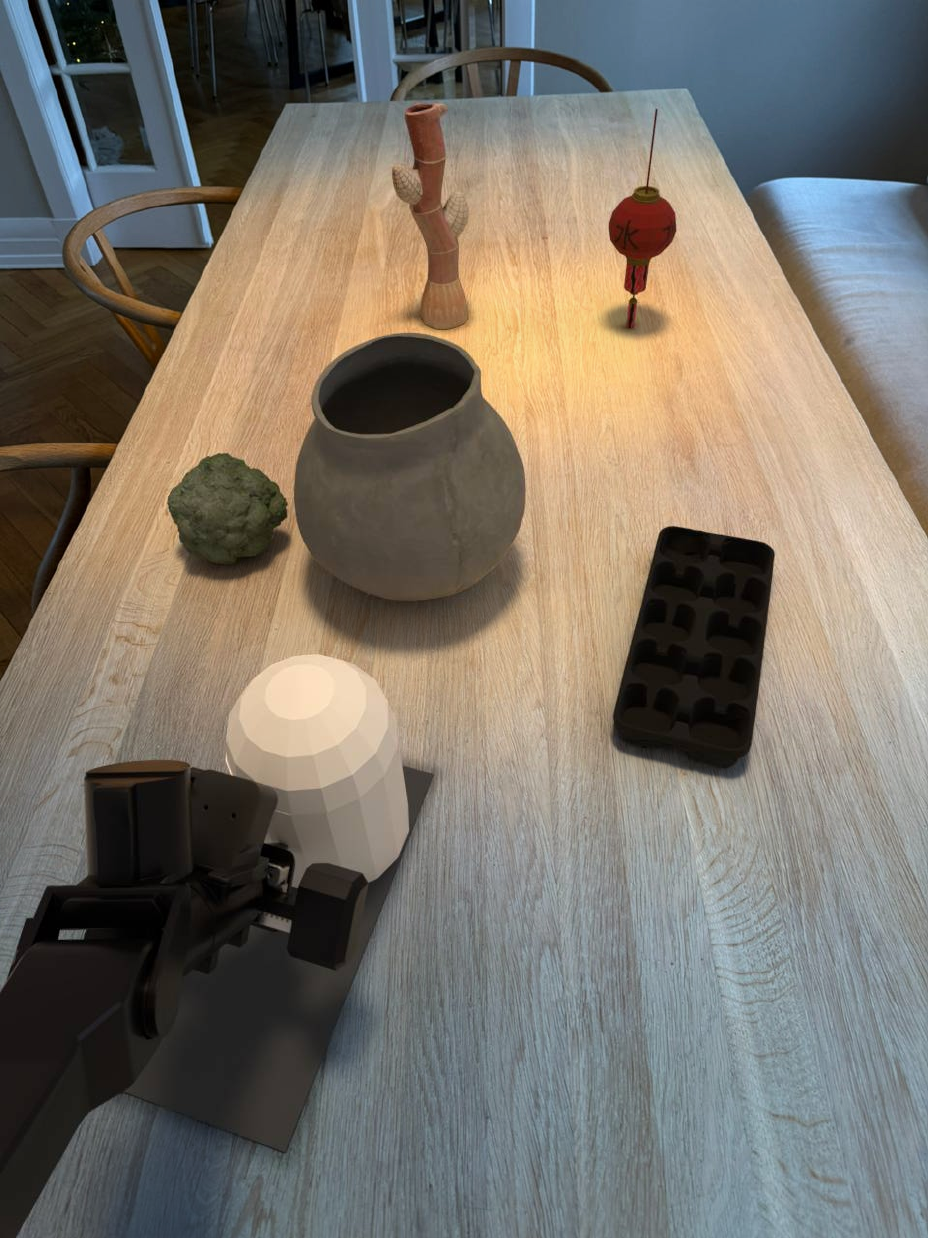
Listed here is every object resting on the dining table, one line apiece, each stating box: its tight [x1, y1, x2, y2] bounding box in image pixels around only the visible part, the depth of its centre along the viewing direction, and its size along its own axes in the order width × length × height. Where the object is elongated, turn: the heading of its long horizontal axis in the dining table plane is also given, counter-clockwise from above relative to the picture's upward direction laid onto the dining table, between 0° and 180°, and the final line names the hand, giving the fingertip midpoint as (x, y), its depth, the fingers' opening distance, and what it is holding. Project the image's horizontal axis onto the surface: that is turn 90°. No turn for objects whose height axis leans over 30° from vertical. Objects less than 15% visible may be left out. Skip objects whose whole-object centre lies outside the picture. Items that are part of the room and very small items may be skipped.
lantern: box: [608, 108, 677, 330], centre depth 122 cm, size 10×10×30 cm
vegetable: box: [166, 452, 289, 565], centre depth 101 cm, size 12×13×15 cm
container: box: [225, 653, 409, 888], centre depth 71 cm, size 14×13×20 cm
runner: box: [123, 765, 435, 1154], centre depth 73 cm, size 32×16×1 cm, turn 162°
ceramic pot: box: [293, 332, 527, 602], centre depth 91 cm, size 24×24×25 cm
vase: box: [391, 102, 469, 330], centre depth 125 cm, size 10×7×30 cm
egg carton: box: [612, 525, 776, 769], centre depth 89 cm, size 18×30×4 cm, turn 174°
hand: (283, 850), depth 69 cm, fingers closed, pressing on container
